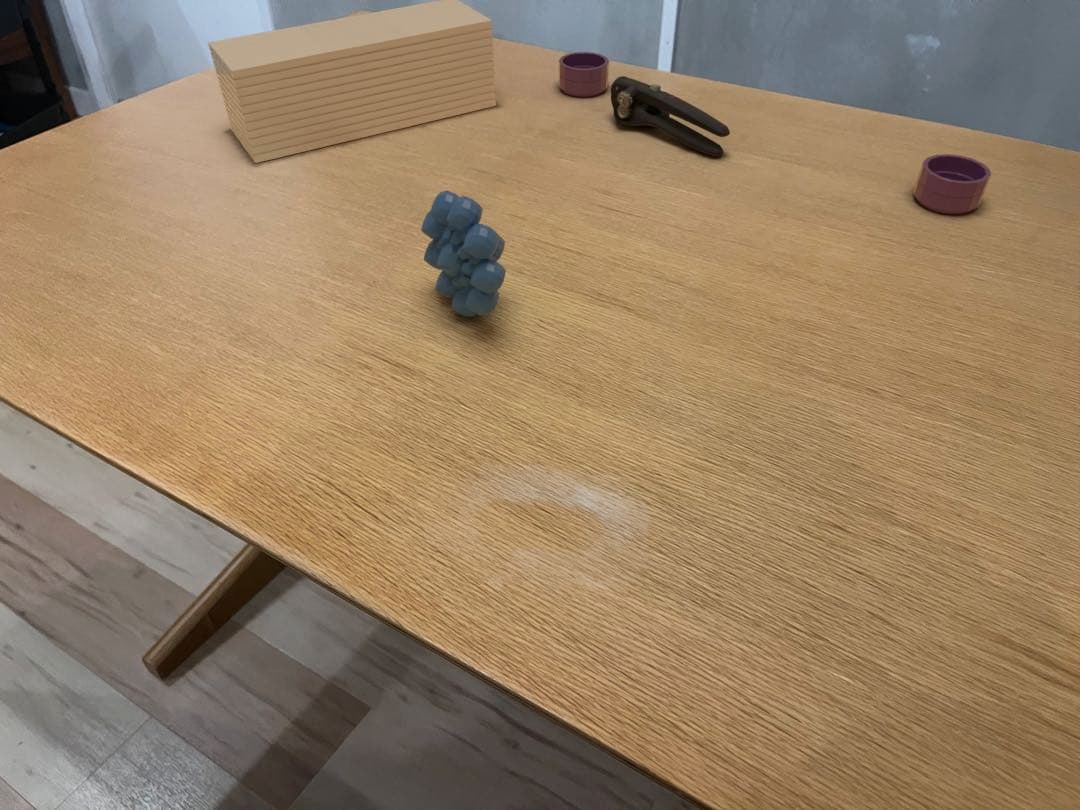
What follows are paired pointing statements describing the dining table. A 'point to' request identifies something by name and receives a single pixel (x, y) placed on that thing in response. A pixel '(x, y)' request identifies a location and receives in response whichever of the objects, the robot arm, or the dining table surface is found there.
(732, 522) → the dining table surface
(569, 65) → the plum dish
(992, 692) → the dining table surface
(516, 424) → the dining table surface
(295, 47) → the tan ribbed wooden block
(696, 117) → the can opener
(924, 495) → the dining table surface
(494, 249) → the grapes
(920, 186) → the plum dish
